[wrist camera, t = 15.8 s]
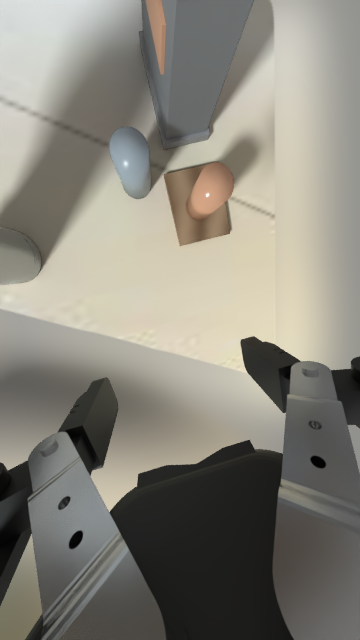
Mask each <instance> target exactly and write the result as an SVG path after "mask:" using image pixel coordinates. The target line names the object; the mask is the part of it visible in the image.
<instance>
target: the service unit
mask: <svg viewBox="0 0 360 640" xmlns="http://www.w3.org/2000/svg"><path fill="white" fill-rule="evenodd" d="M253 1H254V0H141V3H142V21H143V31H140V32H139V38H140V46H141V51H142V55H143V59H144V64H145V68H146V73H147V77H148V82H149V86H150V91H151V95H152V100H153V104H154V109H155V113H156V118H157V122H158V127H159V131H160V136H161V140H162V145H163V149H168V148H173V147H177V146H182V145H186V144H191V143H195V142H200V141H204V140H208V137H209V135H210V133H209V127H208V125H209V122H210V120H211V117H212V114H213V111H214V109H215V106H216V103H217V100H218V98H219V95H220V92H221V89H222V87H223V84H224V81H225V78H226V76H227V73H228V70H229V67H230V65H231V62H232V59H233V56H234V54H235V51H236V48H237V45H238V43H239V40H240V37H241V34H242V32H243V29H244V26H245V23H246V21H247V18H248V15H249V12H250V10H251V7H252V4H253Z"/></svg>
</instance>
